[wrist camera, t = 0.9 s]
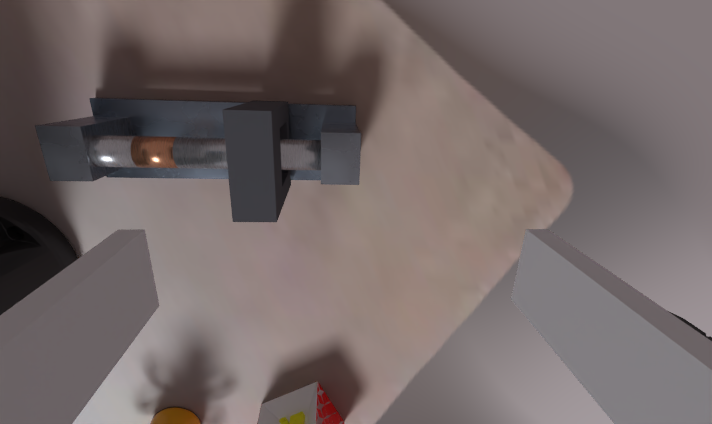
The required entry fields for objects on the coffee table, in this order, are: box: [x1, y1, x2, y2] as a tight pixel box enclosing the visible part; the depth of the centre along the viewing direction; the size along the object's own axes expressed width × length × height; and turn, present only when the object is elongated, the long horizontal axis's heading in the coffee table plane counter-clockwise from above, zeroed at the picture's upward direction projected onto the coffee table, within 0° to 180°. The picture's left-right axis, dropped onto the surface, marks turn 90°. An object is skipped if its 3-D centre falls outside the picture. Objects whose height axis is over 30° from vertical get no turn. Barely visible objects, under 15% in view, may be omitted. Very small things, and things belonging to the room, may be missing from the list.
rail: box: [35, 98, 361, 185], centre depth 30 cm, size 23×7×7 cm, turn 88°
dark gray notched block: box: [222, 101, 291, 222], centre depth 28 cm, size 3×8×10 cm, turn 178°
